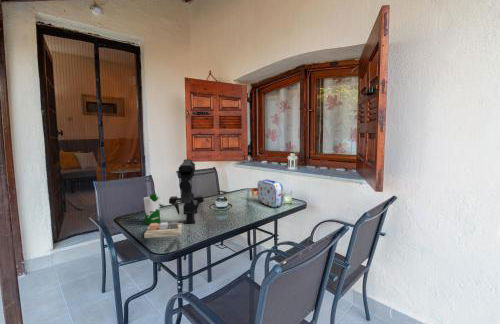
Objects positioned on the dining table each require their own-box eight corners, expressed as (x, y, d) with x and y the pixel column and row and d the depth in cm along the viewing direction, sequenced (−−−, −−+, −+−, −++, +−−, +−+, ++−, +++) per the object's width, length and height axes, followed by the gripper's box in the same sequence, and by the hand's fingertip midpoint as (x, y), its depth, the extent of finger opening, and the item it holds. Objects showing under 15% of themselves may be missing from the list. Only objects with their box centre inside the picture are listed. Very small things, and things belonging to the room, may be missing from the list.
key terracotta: (151, 228, 153) (150, 223, 152) (157, 228, 153) (157, 223, 153) (149, 231, 149) (149, 225, 148) (156, 230, 149) (156, 225, 149)
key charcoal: (171, 227, 155) (171, 222, 154) (178, 226, 156) (177, 221, 155) (170, 229, 151) (170, 224, 151) (177, 229, 152) (177, 223, 151)
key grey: (161, 228, 154) (161, 222, 153) (168, 227, 154) (167, 222, 154) (160, 230, 150) (160, 225, 149) (167, 229, 151) (166, 224, 150)
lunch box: (285, 207, 203) (286, 181, 201) (275, 210, 197) (276, 182, 195) (265, 200, 226) (265, 176, 223) (256, 202, 220) (256, 177, 218)
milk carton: (150, 226, 162) (148, 196, 160) (143, 223, 168) (141, 194, 165) (162, 222, 169) (161, 194, 166) (155, 220, 174) (153, 192, 172)
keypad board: (149, 229, 157) (149, 225, 157) (182, 226, 161) (181, 223, 161) (144, 238, 144) (144, 233, 143) (180, 235, 147) (180, 231, 147)
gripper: (167, 190, 129) (168, 219, 131) (203, 189, 133) (204, 217, 135) (169, 186, 140) (170, 213, 142) (203, 185, 144) (204, 211, 145)
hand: (187, 214), depth 141 cm, fingers open, 9 cm apart
